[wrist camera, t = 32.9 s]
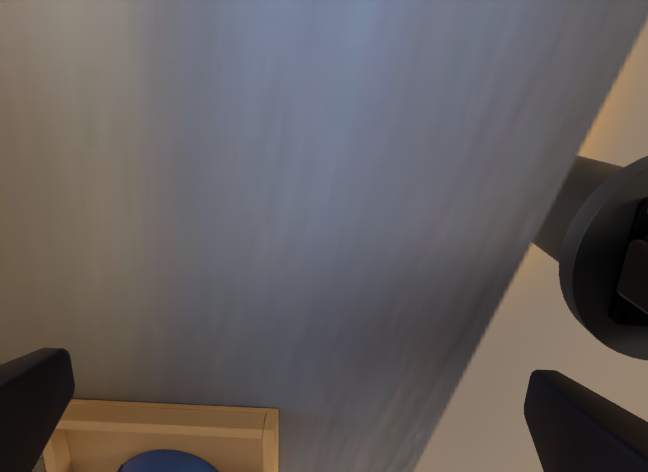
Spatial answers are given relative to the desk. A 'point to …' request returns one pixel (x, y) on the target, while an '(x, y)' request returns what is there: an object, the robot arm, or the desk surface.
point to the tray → (162, 435)
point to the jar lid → (166, 462)
